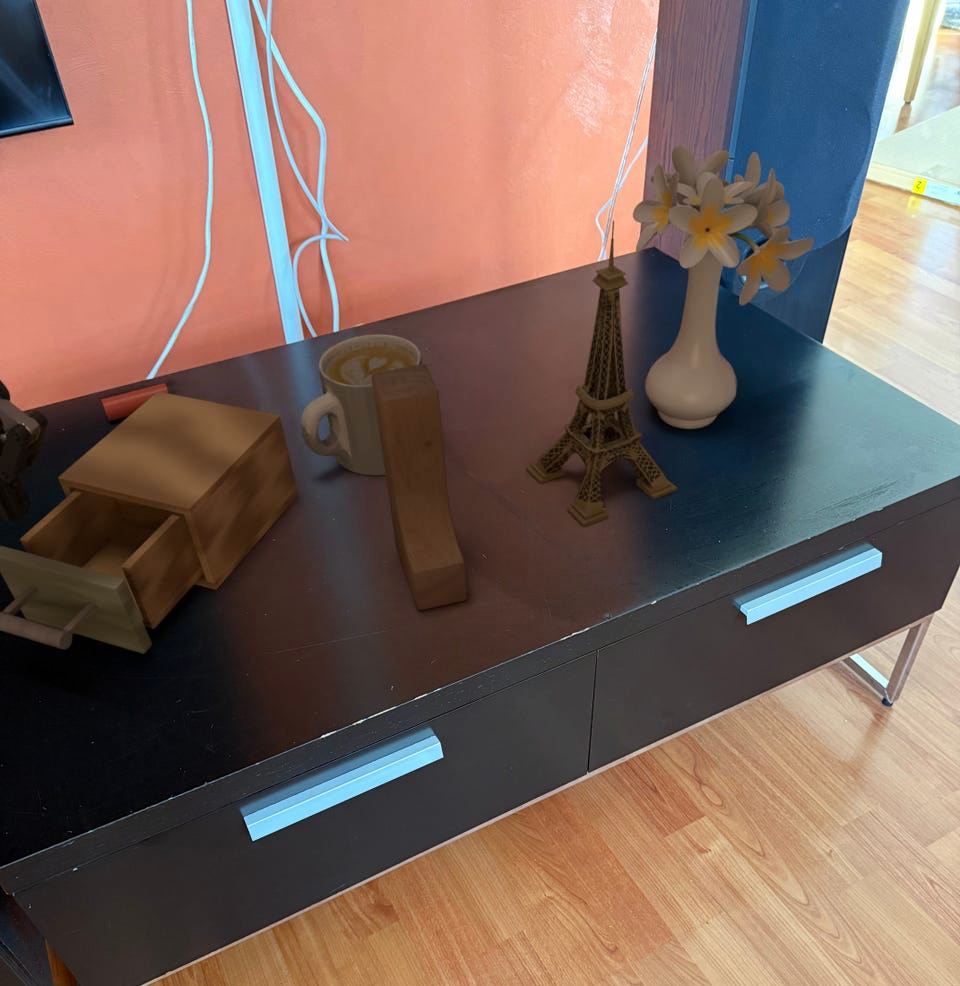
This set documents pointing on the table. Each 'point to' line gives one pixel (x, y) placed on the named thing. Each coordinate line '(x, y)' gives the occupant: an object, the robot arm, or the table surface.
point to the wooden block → (419, 485)
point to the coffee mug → (354, 399)
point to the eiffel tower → (602, 413)
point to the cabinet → (196, 473)
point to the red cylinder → (129, 401)
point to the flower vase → (711, 273)
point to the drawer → (98, 572)
